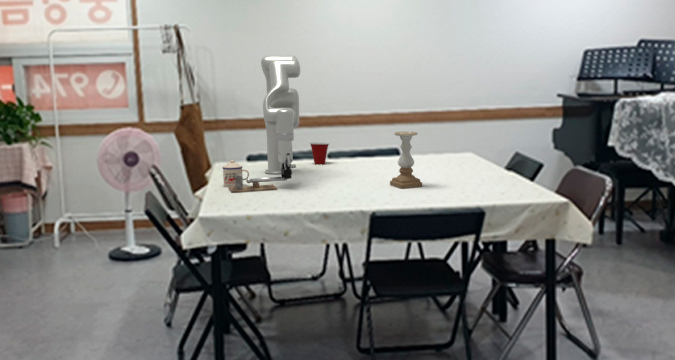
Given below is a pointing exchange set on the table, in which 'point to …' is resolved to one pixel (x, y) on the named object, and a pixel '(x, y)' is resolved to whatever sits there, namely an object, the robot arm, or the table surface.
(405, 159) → the candle holder
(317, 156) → the plastic cup
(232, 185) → the teacup with lid
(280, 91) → the robot arm
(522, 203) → the table surface
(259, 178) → the hook rod
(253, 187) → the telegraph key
